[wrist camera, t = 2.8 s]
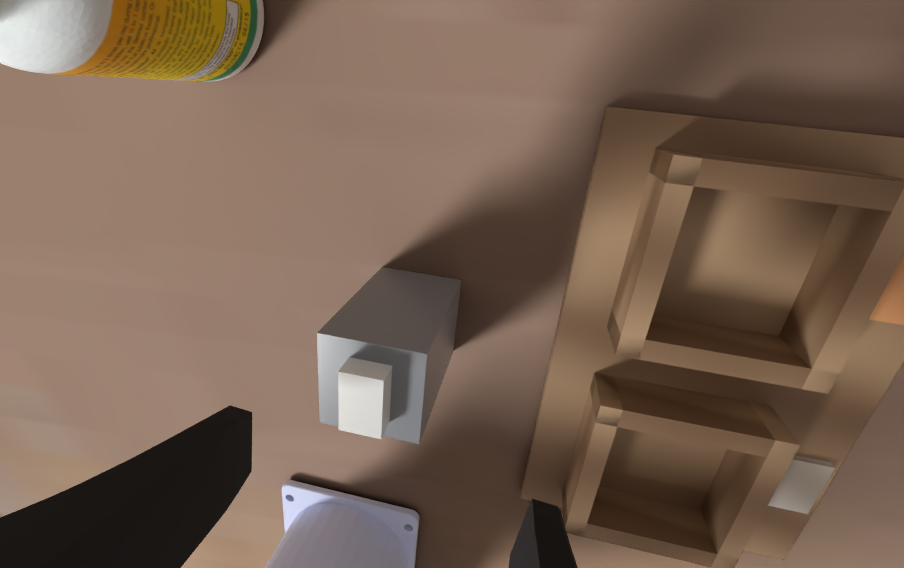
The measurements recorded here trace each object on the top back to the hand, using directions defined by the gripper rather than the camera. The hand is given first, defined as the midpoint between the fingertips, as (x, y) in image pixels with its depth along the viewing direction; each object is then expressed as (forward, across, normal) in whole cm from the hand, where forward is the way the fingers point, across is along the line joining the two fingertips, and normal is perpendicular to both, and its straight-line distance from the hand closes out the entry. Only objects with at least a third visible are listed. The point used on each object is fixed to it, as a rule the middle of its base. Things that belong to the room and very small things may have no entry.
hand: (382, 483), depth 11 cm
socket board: (+9, -10, -1) cm, 14 cm away
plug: (+9, +2, 0) cm, 9 cm away
